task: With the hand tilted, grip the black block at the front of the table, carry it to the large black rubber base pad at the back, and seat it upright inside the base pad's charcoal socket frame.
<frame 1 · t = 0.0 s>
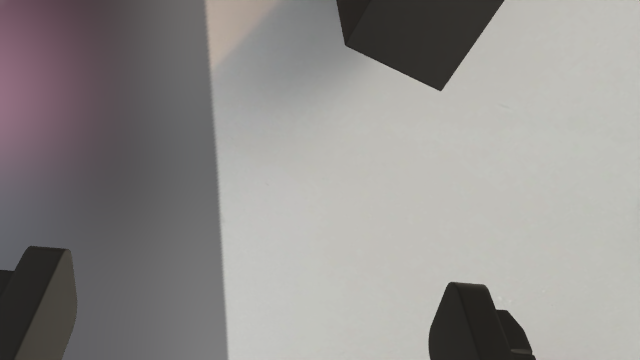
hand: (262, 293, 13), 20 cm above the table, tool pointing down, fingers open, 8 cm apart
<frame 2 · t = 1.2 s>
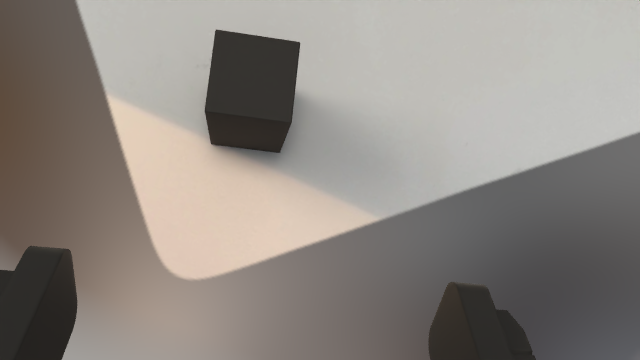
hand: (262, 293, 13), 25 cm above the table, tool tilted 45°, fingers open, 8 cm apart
black block: (249, 115, 38), on the table
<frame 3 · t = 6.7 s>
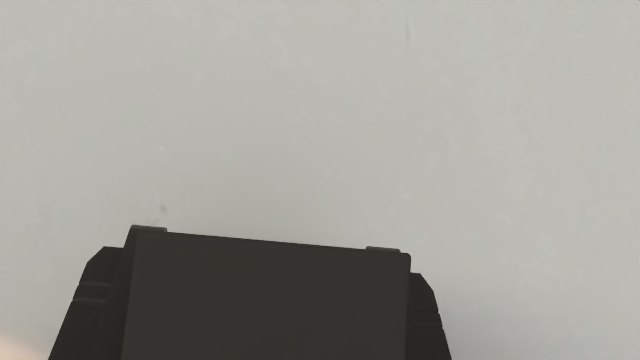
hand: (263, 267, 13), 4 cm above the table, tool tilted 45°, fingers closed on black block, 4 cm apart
black block: (252, 334, 17), on the table, touching gripper
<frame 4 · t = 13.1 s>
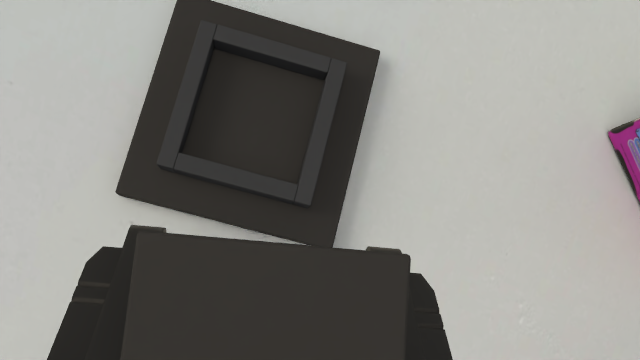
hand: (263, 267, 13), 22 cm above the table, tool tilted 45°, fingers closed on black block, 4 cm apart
black block: (252, 335, 17), point 18 cm above the table, touching gripper
base pad: (254, 122, 36), on the table
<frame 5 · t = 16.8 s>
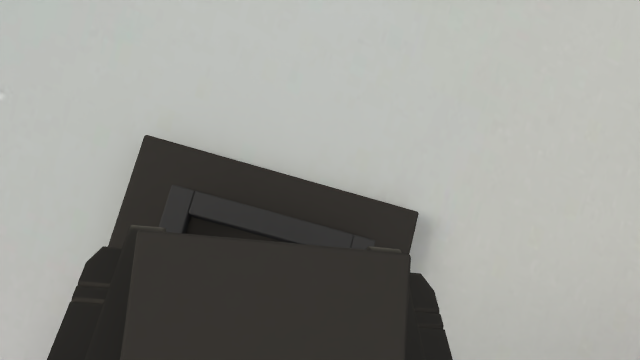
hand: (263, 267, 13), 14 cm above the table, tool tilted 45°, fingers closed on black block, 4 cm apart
black block: (252, 334, 17), point 10 cm above the table, touching gripper
base pad: (245, 313, 26), on the table
when the fingers open (5 cm above the table, at t = 19.6 s): black block stays where it is, resting on base pad.
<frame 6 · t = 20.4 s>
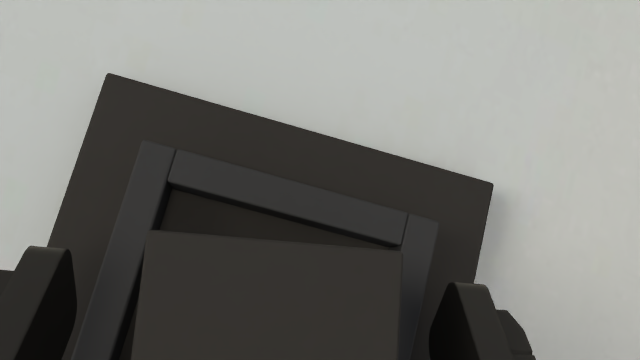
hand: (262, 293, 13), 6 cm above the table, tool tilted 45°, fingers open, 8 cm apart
black block: (254, 329, 18), point 1 cm above the table, touching base pad
base pad: (251, 327, 19), on the table
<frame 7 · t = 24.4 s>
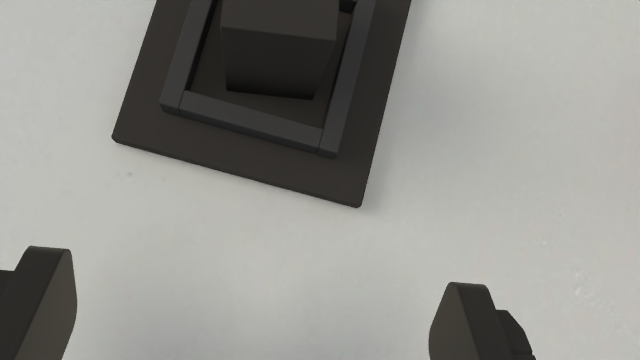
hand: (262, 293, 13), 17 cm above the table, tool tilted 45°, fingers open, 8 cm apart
black block: (273, 54, 31), point 1 cm above the table, touching base pad
base pad: (271, 62, 32), on the table
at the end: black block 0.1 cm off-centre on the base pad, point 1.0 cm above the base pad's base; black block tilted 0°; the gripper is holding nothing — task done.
